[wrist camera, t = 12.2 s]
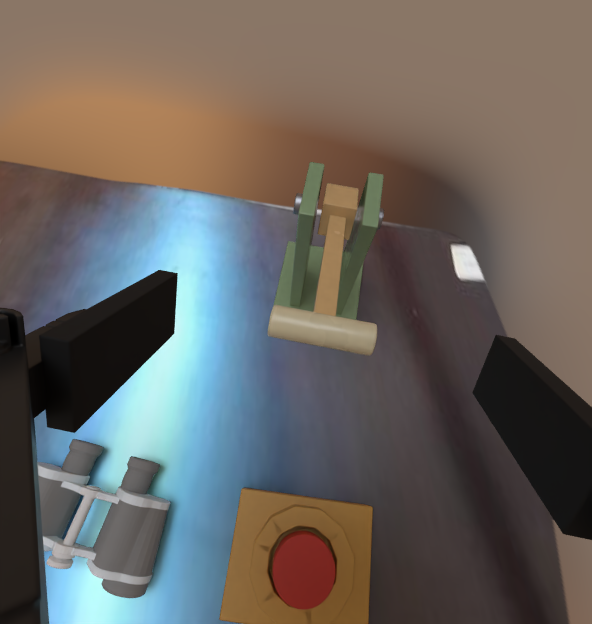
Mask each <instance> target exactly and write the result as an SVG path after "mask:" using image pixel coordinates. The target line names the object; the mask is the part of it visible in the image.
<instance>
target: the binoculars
mask: <svg viewBox="0 0 592 624" xmlns="http://www.w3.org/2000/svg"><path fill="white" fill-rule="evenodd" d="M69 448H70V452H69V454H68V455H67V457H66V459H65V461H64V463H63V466H62V468H61V467H59V466H56V465H52V464H48V463H42V462H37V463H38V477H39V491H40V505H41V519H42V533H43V547H44V551H52V554H53V556H50V557H49V558H48V560H47V564H48V565H49V566H51V567H54V568H58V569H68V568H70V567H71V566H72V564H73V560H72V558H74V557H75V556H80V557H84V558H88V561H87V565H88V567H89V569H90V571H91V573H92V574H93V575H95V576H96V577H99V578H102V579H103V582H102V586H103V588H104V589H105V590H106V591H107V592H109V593H111V594H113V595H116V596H119V597H125V598H137V597H141V596H142V595H144V594H145V592H146V590H147V587H148V584H149V582H150V580H151V577H152V574H153V572H152V570H153V567H154V563H155V559H156V555H157V551H158V547H159V543H160V539H161V535H162V532H163V528H164V524H165V520H166V516H167V512H168V508H169V505H170V503H171V502H170V501H168V500H166V499H163V498H159V497H155V496H152V495H150V494H147V491H148V489H149V487H150V485H151V482H152V478H153V476H154V474H156V473H157V472H158V470H159V467H160V464H158V463H155V462H152V461H148V460H145V459H141V458H137V457H132V456H131V457H130V459H129V461H128V464H127V465H128V470H127V472H126V474H125V476H124V478H123V481H122V484H121V486H120V487H118V489H117V492H116V494H112V493H108V492H105V491H102V490H101V488H99V487H95V486H91V485H87V486H86V484H87V483H88V481H89V479H90V476H89V473H90V471H91V470H92V468H93V465H94V463H95V460H96V458H97V457H98V456H100V455H101V453H102V451H103V449H104V447H102V446H99V445H96V444H92V443H89V442H85V441H81V440H77V439H73V440H72V442H71V444H70V446H69ZM81 495H83V496H84V498H83V500H82V502H81V504H80V506H79V508H78V511H77V513H76V515H75V517H74V519H73V522H72V524H71V526H70V528H69V530H68V532H67V535H66V537H65V539H61V538H62V536H63V534H64V532H65V530H66V528H67V525H68V523H69V521H70V519H71V517H72V515H73V512H74V510H75V508H76V506H77V504H78V502H79V499H80V497H81ZM95 498H97V499H101V500H105V501H109V502H112V504H111V507H110V509H109V511H108V514H107V516H106V518H105V521H104V523H103V526H102V528H101V530H100V533H99V535H98V537H97V540H96V542H95V544H94V547H86V546H82V545H80V544H77V543H75V541H76V539H77V537H78V535H79V532H80V530H81V528H82V526H83V523H84V521H85V519H86V517H87V514H88V512H89V510H90V508H91V505H92V503H93V501H94V499H95Z"/></svg>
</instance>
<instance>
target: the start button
mask: <svg viewBox="0 0 592 624" xmlns="http://www.w3.org/2000/svg"><path fill="white" fill-rule="evenodd" d="M272 572H273V581H274V585H275V588H276V590H277V592H278V594H279V596H280V597H281V598H282V599H283V600H284V602H286V603H287V604H288V605H290V606H291V607H294V608H296V609H303V610H306V609H311V608H314V607H316V606H318V605H320V604H321V603H322V602H323V601H324V600H325V599H326V598H327V597H328V595H329V594H330V592H331V590H332V588H333V585H334V581H335V562H334V559H333V555H332V553H331V551H330V549H329V548H328V546H327V545H326V544H325V542H324V541H323V540H322V539H321V538H320V537H319V536H317V535H316V534H314V533H312V532H309V531H295V532H293V533H290V534H289V535H287V536H286V537H285V538H284V539H283V540H282V541H281V542H280V543H279V545H278V547H277V548H276V551H275V554H274V557H273V567H272Z"/></svg>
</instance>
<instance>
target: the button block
mask: <svg viewBox="0 0 592 624" xmlns="http://www.w3.org/2000/svg"><path fill="white" fill-rule="evenodd" d="M372 514H373V507H371V506H368V505H365V504H358V503H351V502H344V501H337V500H330V499H323V498H316V497H308V496H301V495H294V494H287V493H280V492H273V491H266V490H259V489H252V488H242V489H241V495H240V501H239V507H238V513H237V519H236V525H235V530H234V536H233V542H232V548H231V554H230V560H229V565H228V571H227V577H226V583H225V589H224V595H223V600H222V606H221V612H220V618H219V619H220V620H222V621H229V622H236V623H243V624H368V618H369V592H370V566H371V540H372ZM295 531H309V532H312V533H314V534H316V535H317V536H319V537H320V538H321V539H322V540H323V541H324V542H325V544H326V545H327V546H328V548H329V549H330V551H331V553H332V555H333V559H334V562H335V581H334V585H333V588H332V590H331V592H330V594H329V595H328V597H327V598H326V599H325V600H324V601H323V602H322V603H321V604H320V605H318V606H316V607H314V608H311V609H306V610H303V609H296V608H294V607H291V606H290V605H288V604H287V603H286V602H284V600H283V599H282V598H281V597H280V596H279V594H278V592H277V590H276V588H275V585H274V581H273V572H272V567H273V557H274V554H275V551H276V548H277V547H278V545H279V543H280V542H281V541H282V540H283V539H284V538H285V537H286V536H287V535H289V534H290V533H293V532H295Z"/></svg>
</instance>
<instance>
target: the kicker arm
mask: <svg viewBox="0 0 592 624" xmlns="http://www.w3.org/2000/svg"><path fill="white" fill-rule="evenodd" d="M357 204H358V189H357V188H351V187H346V186H340V185H335V184H329V183H327V187H326V192H325V198H324V202H323V207H322V213H321V218H320V224H319V229H318V234H319V235H325V236H326V237H325V243H324V249H323V255H322V261H321V267H320V273H319V279H318V285H317V291H316V297H315V303H314V309H313V312H311V311H306V310H301V309H295V308H290V307H285V306H280V305H274V306H273V308H272V312H271V316H270V320H269V326H268V336H269V337H274V338H279V339H285V340H290V341H295V342H300V343H305V344H311V345H316V346H321V347H326V348H331V349H337V350H342V351H347V352H352V353H357V354H363V355H368V356H369V355H371V354H372V353H373V350H374V348H375V344H376V339H377V325H376V324H374V323H369V322H364V321H359V320H353V319H348V318H343V317H337V316H336V311H337V301H338V292H339V282H340V273H341V263H342V254H343V244H344V239H346V240H349V239H350V235H351V231H352V227H353V223H354V220H355V216H356V212H357Z"/></svg>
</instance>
